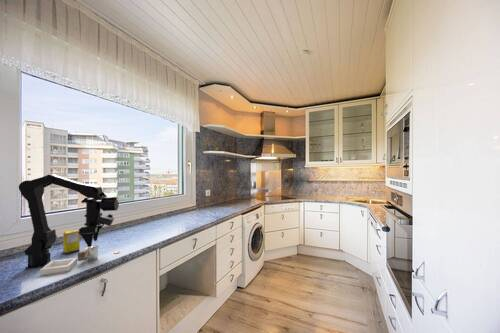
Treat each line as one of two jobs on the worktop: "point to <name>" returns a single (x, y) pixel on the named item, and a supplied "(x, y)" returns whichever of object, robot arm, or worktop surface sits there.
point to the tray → (58, 266)
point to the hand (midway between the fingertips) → (92, 243)
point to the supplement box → (71, 241)
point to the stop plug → (92, 253)
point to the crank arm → (83, 254)
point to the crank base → (114, 253)
